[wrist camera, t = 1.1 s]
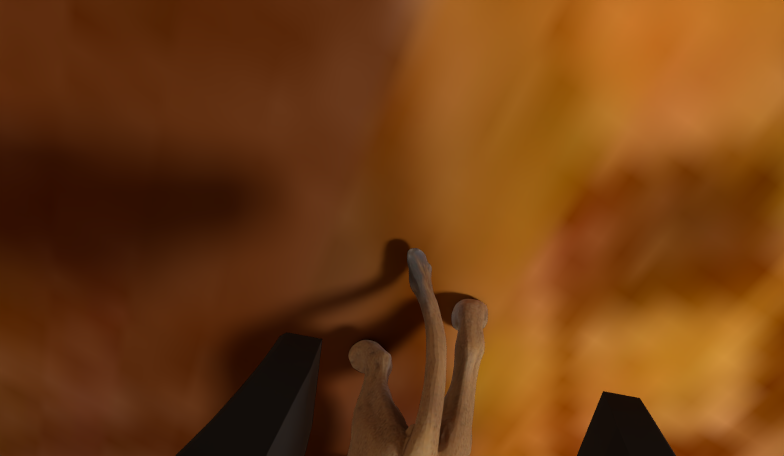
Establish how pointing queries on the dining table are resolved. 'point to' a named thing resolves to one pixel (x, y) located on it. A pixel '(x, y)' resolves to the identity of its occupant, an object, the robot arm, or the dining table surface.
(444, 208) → the dining table surface
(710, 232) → the dining table surface
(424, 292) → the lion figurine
